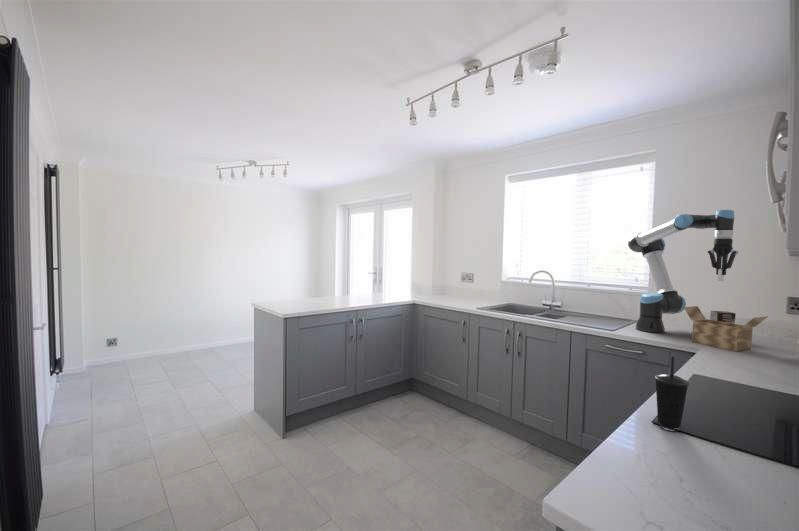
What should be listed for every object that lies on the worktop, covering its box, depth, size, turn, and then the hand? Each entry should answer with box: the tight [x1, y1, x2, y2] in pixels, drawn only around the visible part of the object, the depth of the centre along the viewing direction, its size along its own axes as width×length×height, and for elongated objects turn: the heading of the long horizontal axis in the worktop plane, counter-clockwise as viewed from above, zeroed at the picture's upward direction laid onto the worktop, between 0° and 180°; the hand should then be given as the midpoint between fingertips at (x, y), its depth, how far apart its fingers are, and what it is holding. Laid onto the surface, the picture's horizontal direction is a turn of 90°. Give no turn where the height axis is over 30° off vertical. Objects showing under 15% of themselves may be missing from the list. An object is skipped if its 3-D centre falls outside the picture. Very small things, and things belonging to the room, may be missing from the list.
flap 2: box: [740, 315, 769, 329], centre depth 178 cm, size 8×13×1 cm
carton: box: [691, 318, 754, 353], centre depth 190 cm, size 20×13×12 cm, turn 23°
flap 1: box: [684, 305, 707, 321], centre depth 202 cm, size 8×13×1 cm
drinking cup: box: [654, 356, 690, 428], centre depth 98 cm, size 8×8×20 cm
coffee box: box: [709, 310, 736, 324], centre depth 205 cm, size 9×6×16 cm
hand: (720, 280), depth 196 cm, fingers closed
